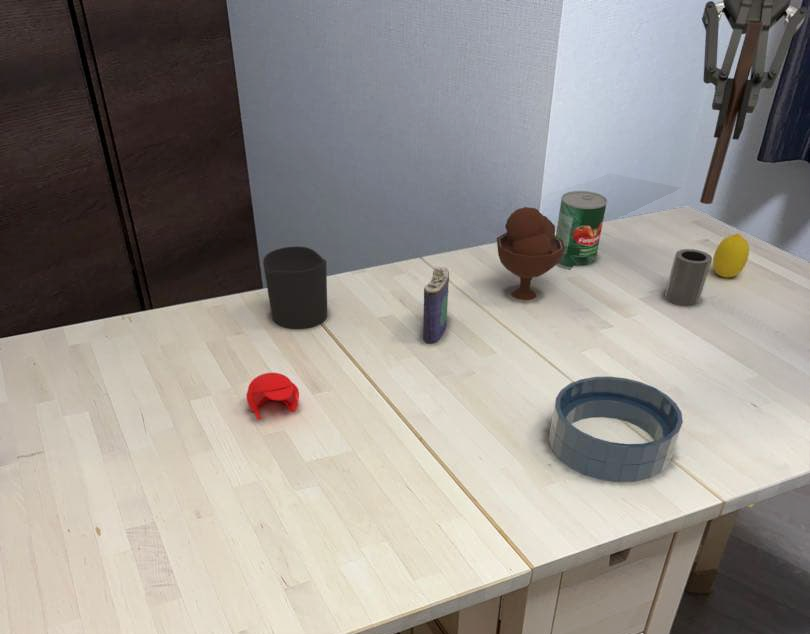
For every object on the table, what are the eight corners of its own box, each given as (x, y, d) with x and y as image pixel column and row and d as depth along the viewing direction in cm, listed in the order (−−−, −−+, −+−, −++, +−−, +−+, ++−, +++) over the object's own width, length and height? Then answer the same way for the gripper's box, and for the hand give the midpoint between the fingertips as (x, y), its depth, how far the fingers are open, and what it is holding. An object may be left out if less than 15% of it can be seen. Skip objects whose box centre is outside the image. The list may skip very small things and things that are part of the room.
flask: (432, 319, 119) (435, 253, 112) (450, 322, 119) (455, 256, 111) (420, 347, 113) (422, 279, 105) (439, 350, 112) (442, 282, 105)
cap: (238, 411, 100) (231, 372, 96) (273, 394, 103) (268, 355, 99) (275, 436, 96) (270, 396, 92) (310, 417, 99) (307, 378, 95)
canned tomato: (584, 273, 133) (596, 210, 125) (544, 263, 136) (553, 200, 128) (602, 258, 137) (614, 196, 130) (562, 248, 140) (572, 187, 133)
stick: (713, 201, 110) (764, 21, 95) (711, 205, 109) (762, 24, 94) (701, 199, 110) (750, 20, 95) (698, 202, 109) (748, 22, 94)
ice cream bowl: (549, 318, 120) (563, 224, 110) (482, 306, 123) (491, 213, 112) (562, 291, 127) (577, 200, 117) (499, 280, 130) (508, 191, 120)
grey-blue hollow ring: (680, 434, 97) (693, 394, 93) (654, 501, 87) (667, 460, 83) (568, 404, 102) (576, 365, 98) (532, 465, 92) (538, 424, 88)
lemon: (739, 288, 129) (755, 242, 124) (706, 283, 130) (720, 237, 125) (740, 275, 133) (755, 230, 127) (708, 270, 134) (721, 225, 129)
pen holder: (336, 310, 121) (332, 249, 114) (321, 337, 114) (316, 275, 108) (280, 304, 122) (273, 244, 115) (262, 332, 116) (254, 269, 109)
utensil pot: (700, 299, 126) (714, 253, 120) (694, 313, 122) (708, 265, 116) (667, 292, 127) (679, 246, 122) (660, 306, 124) (672, 259, 118)
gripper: (813, -13, 102) (778, 153, 102) (702, -19, 105) (667, 143, 105) (834, -59, 95) (795, 121, 95) (713, -64, 98) (675, 110, 98)
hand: (728, 132), depth 100 cm, fingers closed on stick, 2 cm apart
